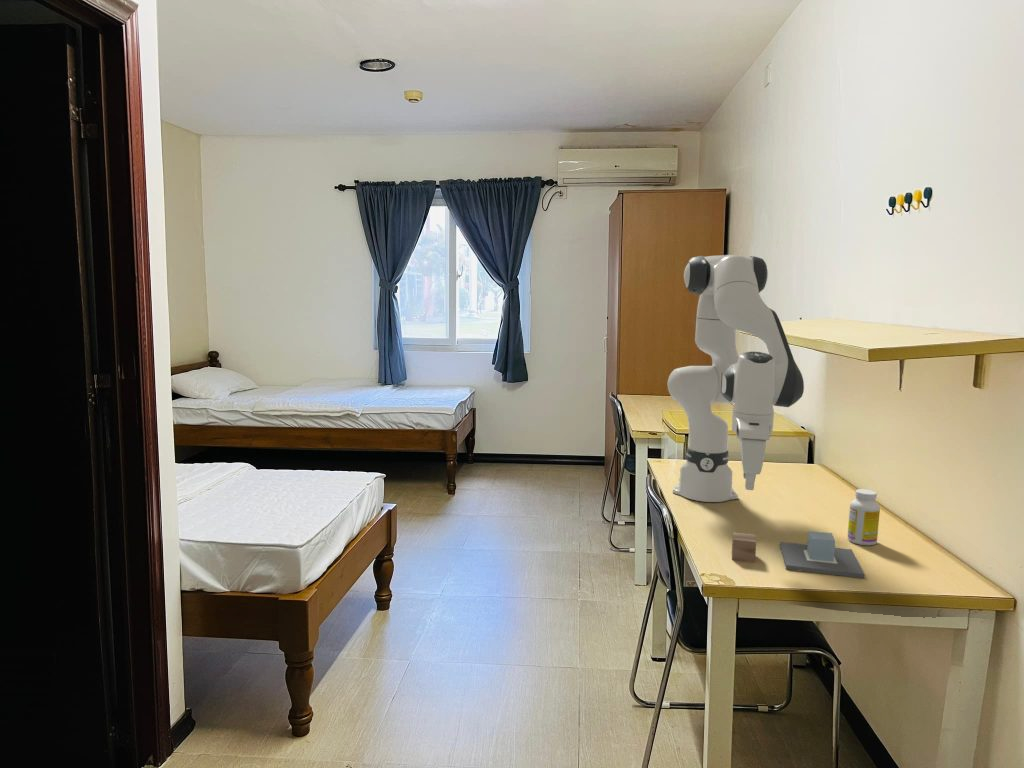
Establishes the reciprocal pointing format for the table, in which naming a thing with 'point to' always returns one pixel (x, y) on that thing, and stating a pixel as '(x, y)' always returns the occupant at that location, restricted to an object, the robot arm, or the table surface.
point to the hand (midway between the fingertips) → (748, 483)
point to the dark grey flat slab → (841, 565)
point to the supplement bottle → (864, 518)
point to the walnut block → (743, 547)
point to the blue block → (821, 546)
